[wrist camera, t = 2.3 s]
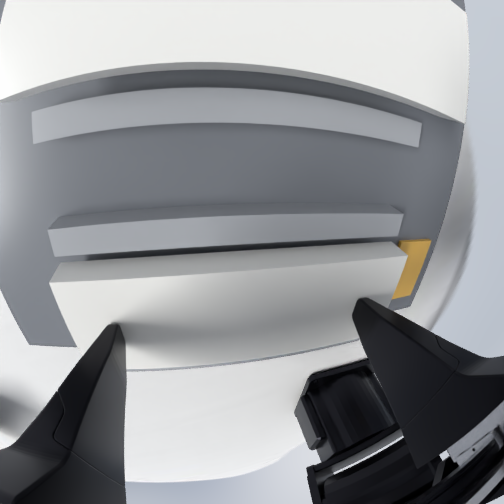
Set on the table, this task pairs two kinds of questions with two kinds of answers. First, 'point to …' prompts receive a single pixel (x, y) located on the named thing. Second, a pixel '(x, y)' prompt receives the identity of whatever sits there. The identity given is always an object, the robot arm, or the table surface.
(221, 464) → the table surface
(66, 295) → the key
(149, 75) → the switch panel
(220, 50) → the key middle
